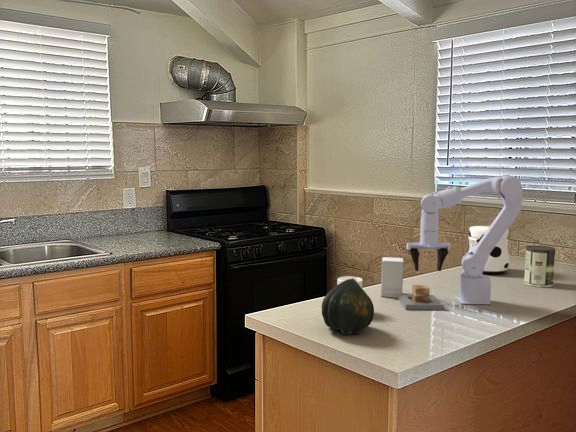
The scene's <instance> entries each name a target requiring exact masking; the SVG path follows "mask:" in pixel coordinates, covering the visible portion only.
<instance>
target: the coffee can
mask: <svg viewBox="0 0 576 432" xmlns="http://www.w3.org/2000/svg"><path fill="white" fill-rule="evenodd" d="M556 251H557V250H556V248H555V247H552V246H549V245H547V246H546V245H536V244H535V245H534V244H533V245H527V246H525V262H524V264H525V265H524V278H523V279H524V280H523V284H525V285H526V284H527V286H530V287H534V286H535V288H551V287H553V286H554V275H555V272H554V271H555V260H556Z"/></svg>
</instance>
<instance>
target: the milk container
mask: <svg viewBox="0 0 576 432" xmlns="http://www.w3.org/2000/svg"><path fill="white" fill-rule="evenodd" d="M490 226H491V225H474V226H470V227H469V231H468V241H467V242H468V245H467V251H466V253H465V255H466V254H468V253H469V252H470V251H471V250H472V249H473V248H474V247H475V246H476V245H477V244H478V243H479V241H480V240H481V238H482V237H483V236H484V234H485V233H486V231H487V230H488V228H489V227H490ZM509 233H510V232H509V228H508V229H507V230H506V232H505V233H504V234H503V236H502V237H501V239H500V240H499V241H498V243H497V244H496V246H495V247H494V248H493V250H492V251H491V253H490V254H489V257H488V260H487V262H486V263H485V265H484V271H483V274H500V273H505V272H506V271H508V269H509V266H510V255H509V251H508V250H509V237H510V234H509Z"/></svg>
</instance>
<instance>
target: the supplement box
mask: <svg viewBox="0 0 576 432" xmlns="http://www.w3.org/2000/svg"><path fill="white" fill-rule="evenodd" d="M404 263H405V262H404V257H390V256H388V257H386V256H383V257H382V260H381V274H380V275H381V278H380V279H381V281H380V297H384V298H397V299H398V295H403V284H404V283H403V282H404Z"/></svg>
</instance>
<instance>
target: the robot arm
mask: <svg viewBox="0 0 576 432" xmlns="http://www.w3.org/2000/svg"><path fill="white" fill-rule="evenodd" d="M523 191H524V189H523V185H522V183H521V180H520V179H519V178H518V177H516V176H513V175H510V174H503V175H500V176H494V177H489V178H486V179H484V180H480V181H478V182H476V183H473V184H470V185H467V186H464V187H461V188H459V187H457V186H453V187H452V185H449V186H447V188H446V189H443V190H440V191H433V192H432V193H433V194H430V193H429V194H426V195H424V196H423V198H422V199H421V201H420V206H421V208H422V209H421V214H420V215H421V216H420V233H419V234H420V235H419V236H420V237H419V242H407V243H406V249H407V250H409V251H408V252H409V253H410V256H411V258H412V263H413V266H414V271H415V272H419V260H420V259H419V258H420V252H419V250H436V253H437V263H436V271H438V272H441V271H442V268H443V264H444V261H445V260H446V258H447V256H448V254H449V250H450V251H451V250H452V249H451V248H452V244H451V243H449V242H438V238H439V209H445V208H449V207H452V206H455V205H459V204H461V203H462V201H463V199H464V198H467V197H471V196H474V195H478V194H481V193H485V192H494V193H499V194H500V196H501V199H502V202H503V206H502V208H501V210H500V212H499V213H498V215H496V217H495V219H494V220H493V222H492V223H491V224H490V225H489V226H490V227H489V228H488V230H487V231H486V233H485V234H484V236H483V237H482V238H481V240H480V241H479V243H478V244H477V245H476V246H475V247H474V248H473V249H472V250H471V251H470V252H469V253H468V254H466V253H465V254H464V255H463V256H462V258H461V261H460V263H461V267H462V268H463V270H462V271H461V272H460V279H459V296H455V299H456V300H457V301H458V302H460V303H461V305H492V304H491V303H492V302H491V291H492V281H491V278H490V276H489V275H484V273H483V271H484V265H485V263H486V262H487V260H488V257H489V254H490V253H491V251H492V250H493V248H494V247H495V246H496V244H497V243H498V241H499V240H500V239H501V237H502V236H503V234H504V233H505V232H506V230H507V229H508V230H509V227H510V226H511V224H512V223H513V222H514V221H515V219H516V218H517V216H518V215H519V214H520V212H521V210H522V209H523V208H522V207H523V193H524V192H523Z"/></svg>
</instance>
